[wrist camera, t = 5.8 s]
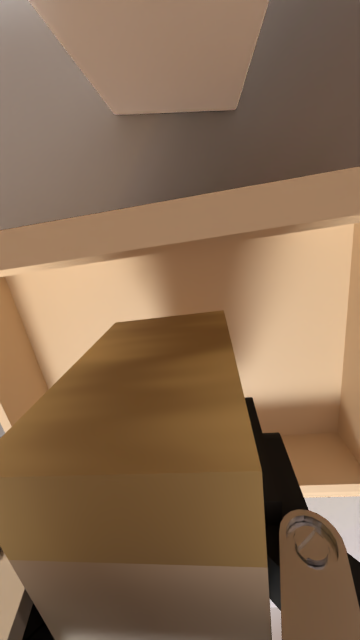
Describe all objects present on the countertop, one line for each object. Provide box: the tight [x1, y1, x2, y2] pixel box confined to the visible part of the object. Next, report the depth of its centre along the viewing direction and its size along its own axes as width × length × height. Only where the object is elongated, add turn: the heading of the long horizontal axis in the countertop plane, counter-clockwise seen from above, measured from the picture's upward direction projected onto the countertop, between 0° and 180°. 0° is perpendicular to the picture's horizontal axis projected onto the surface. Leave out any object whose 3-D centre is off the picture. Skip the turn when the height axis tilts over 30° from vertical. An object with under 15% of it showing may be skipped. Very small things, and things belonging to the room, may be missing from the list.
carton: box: [0, 166, 360, 498], centre depth 11 cm, size 21×16×12 cm
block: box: [0, 310, 272, 640], centre depth 8 cm, size 4×10×7 cm, turn 8°
